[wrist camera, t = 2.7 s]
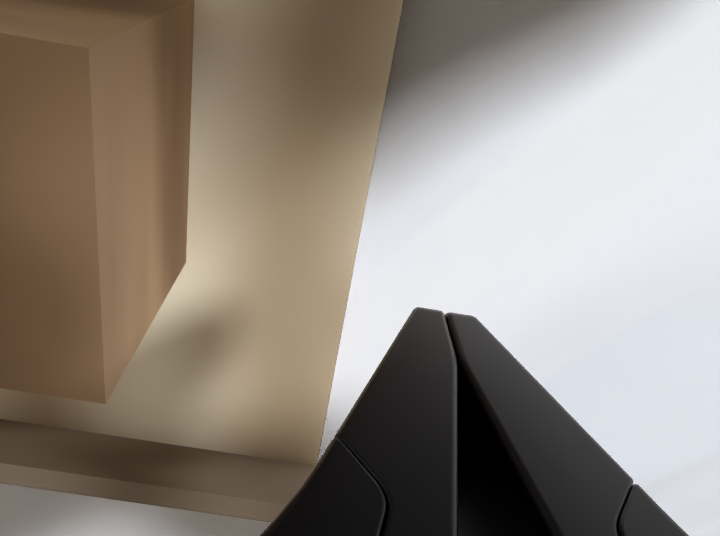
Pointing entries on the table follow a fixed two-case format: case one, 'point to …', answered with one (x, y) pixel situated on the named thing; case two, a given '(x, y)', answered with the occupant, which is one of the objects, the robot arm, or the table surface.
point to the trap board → (238, 275)
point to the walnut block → (89, 185)
